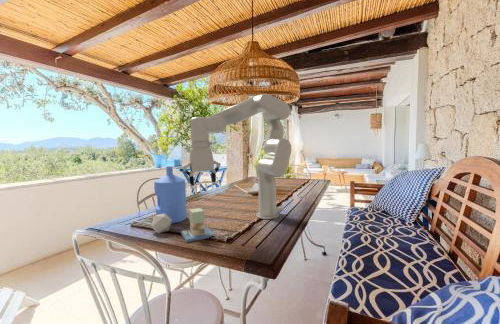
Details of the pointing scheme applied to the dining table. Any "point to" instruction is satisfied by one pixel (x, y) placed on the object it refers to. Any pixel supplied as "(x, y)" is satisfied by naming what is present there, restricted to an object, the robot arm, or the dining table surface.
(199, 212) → the green block
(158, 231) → the die
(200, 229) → the pine block
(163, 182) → the water jug
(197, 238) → the board
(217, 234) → the dining table surface
